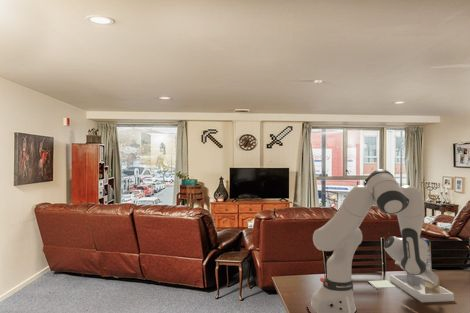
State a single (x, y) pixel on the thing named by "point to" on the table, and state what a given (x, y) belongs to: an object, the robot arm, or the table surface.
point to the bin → (421, 290)
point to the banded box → (431, 287)
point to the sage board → (381, 284)
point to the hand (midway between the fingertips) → (428, 281)
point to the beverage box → (428, 255)
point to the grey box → (413, 280)
